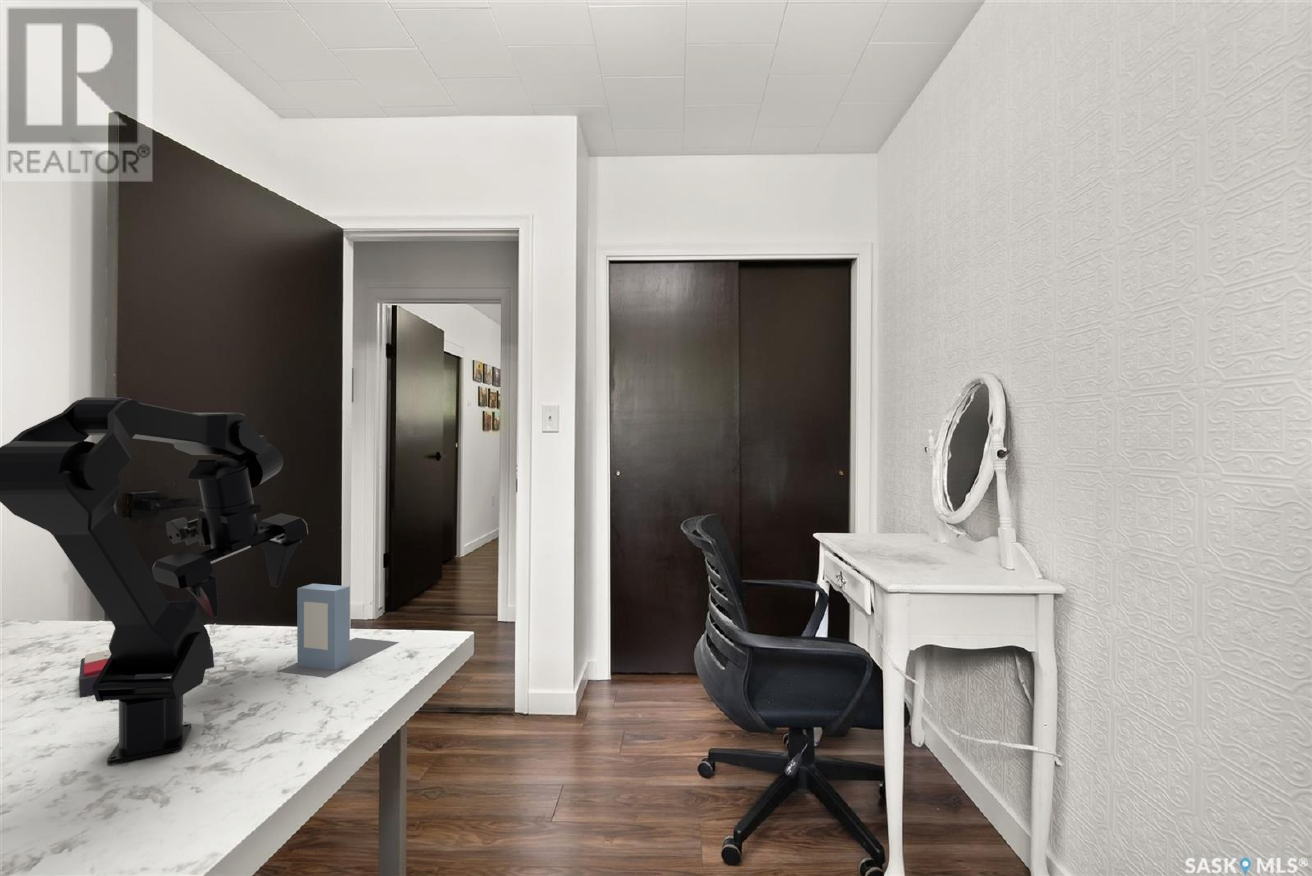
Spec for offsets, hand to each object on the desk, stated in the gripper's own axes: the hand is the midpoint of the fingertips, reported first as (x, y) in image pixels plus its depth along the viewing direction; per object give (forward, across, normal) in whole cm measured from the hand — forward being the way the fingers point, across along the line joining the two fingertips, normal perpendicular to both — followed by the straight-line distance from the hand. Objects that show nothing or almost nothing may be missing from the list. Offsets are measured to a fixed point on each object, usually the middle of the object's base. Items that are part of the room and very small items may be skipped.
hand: (245, 600), depth 89 cm
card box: (+12, -5, +7) cm, 15 cm away
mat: (+14, -9, +7) cm, 18 cm away
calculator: (+13, +6, -16) cm, 21 cm away
